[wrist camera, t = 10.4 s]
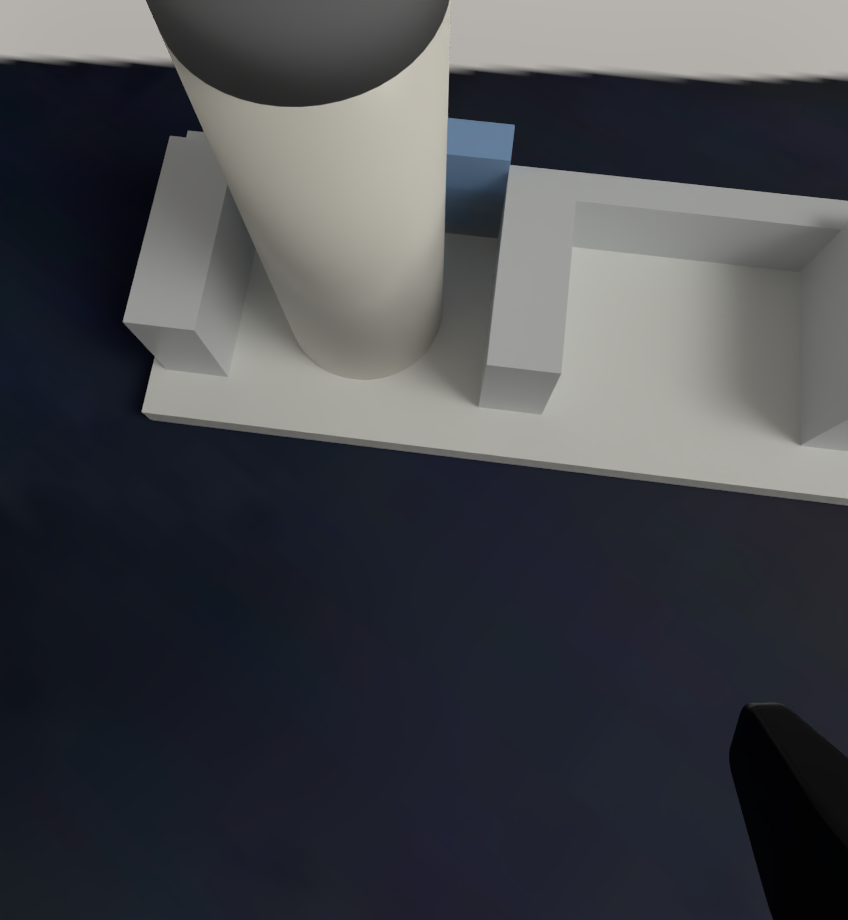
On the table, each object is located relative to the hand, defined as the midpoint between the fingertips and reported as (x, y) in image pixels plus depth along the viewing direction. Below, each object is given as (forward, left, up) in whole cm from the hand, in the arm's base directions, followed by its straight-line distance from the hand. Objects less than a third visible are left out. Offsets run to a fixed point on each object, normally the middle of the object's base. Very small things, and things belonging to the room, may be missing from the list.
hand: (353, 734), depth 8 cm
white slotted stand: (+10, +7, -14) cm, 18 cm away
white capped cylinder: (+6, +10, -13) cm, 17 cm away
